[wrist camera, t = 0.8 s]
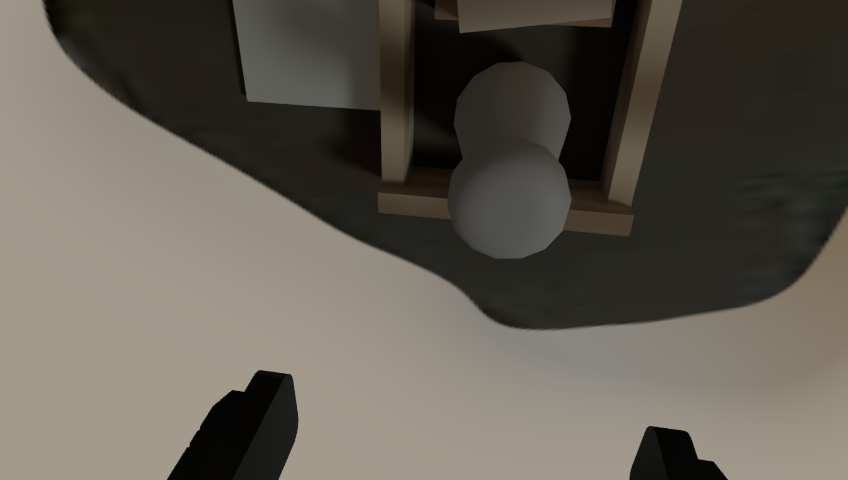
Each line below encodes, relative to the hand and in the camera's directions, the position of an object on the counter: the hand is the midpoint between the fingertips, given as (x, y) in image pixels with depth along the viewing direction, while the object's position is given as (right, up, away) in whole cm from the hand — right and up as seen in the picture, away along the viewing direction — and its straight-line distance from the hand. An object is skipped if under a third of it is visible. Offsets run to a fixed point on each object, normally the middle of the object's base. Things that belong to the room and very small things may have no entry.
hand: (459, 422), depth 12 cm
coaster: (-7, +16, +16) cm, 23 cm away
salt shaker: (+4, +12, +17) cm, 21 cm away
